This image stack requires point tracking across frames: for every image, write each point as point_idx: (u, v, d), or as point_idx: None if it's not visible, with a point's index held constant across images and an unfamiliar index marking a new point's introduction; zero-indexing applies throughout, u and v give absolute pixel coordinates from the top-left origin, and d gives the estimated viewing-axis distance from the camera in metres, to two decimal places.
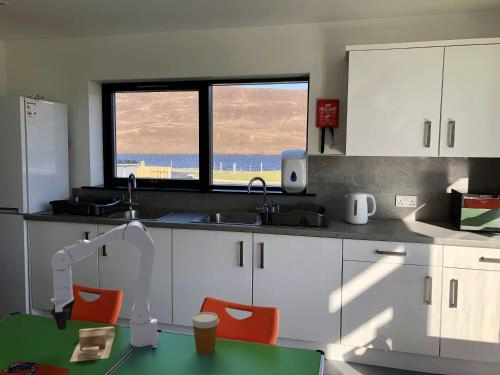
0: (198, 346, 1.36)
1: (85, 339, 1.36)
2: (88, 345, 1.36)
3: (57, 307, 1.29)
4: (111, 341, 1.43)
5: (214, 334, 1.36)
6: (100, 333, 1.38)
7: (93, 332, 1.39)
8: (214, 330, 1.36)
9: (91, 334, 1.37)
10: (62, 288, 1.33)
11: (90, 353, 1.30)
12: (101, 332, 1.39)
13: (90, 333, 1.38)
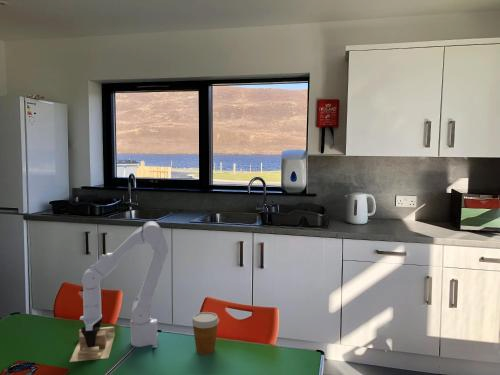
0: (198, 346, 1.36)
1: (85, 339, 1.36)
2: None
3: (88, 326, 1.30)
4: (111, 341, 1.43)
5: (214, 334, 1.36)
6: (100, 333, 1.38)
7: None
8: (214, 330, 1.36)
9: None
10: (92, 306, 1.34)
11: (90, 353, 1.30)
12: (101, 332, 1.39)
13: None
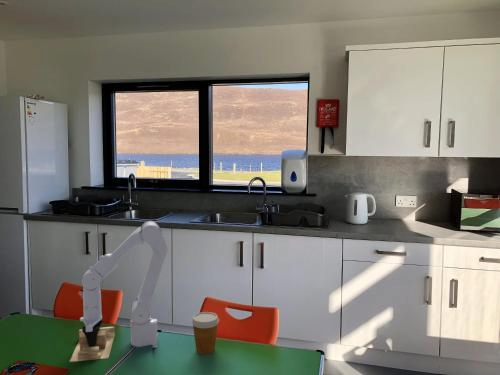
0: (198, 346, 1.36)
1: (85, 339, 1.36)
2: (88, 345, 1.36)
3: (88, 327, 1.30)
4: (111, 341, 1.43)
5: (214, 334, 1.36)
6: (100, 333, 1.38)
7: None
8: (214, 330, 1.36)
9: None
10: (92, 308, 1.34)
11: (90, 353, 1.30)
12: (101, 332, 1.39)
13: None
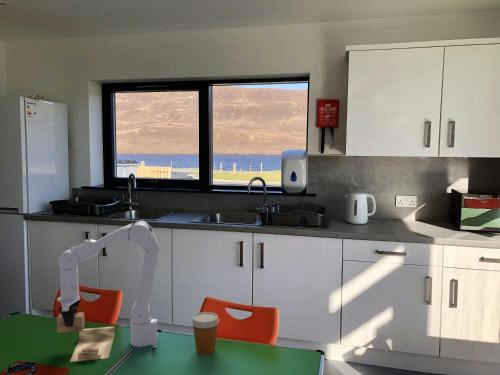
0: (198, 346, 1.36)
1: (62, 320, 1.35)
2: (65, 327, 1.35)
3: (64, 306, 1.30)
4: (111, 341, 1.43)
5: (214, 334, 1.36)
6: (77, 315, 1.38)
7: None
8: (214, 330, 1.36)
9: None
10: (69, 287, 1.34)
11: (90, 353, 1.30)
12: (79, 314, 1.38)
13: None
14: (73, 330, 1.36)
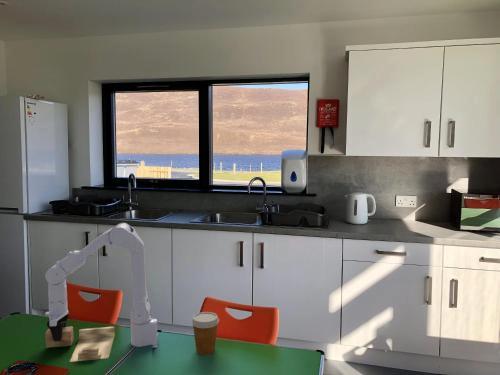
0: (198, 346, 1.36)
1: (50, 335, 1.36)
2: None
3: (51, 321, 1.30)
4: (111, 341, 1.43)
5: (214, 334, 1.36)
6: (66, 329, 1.38)
7: None
8: (214, 330, 1.36)
9: None
10: (57, 302, 1.34)
11: (90, 353, 1.30)
12: (67, 328, 1.39)
13: None
14: (62, 344, 1.37)
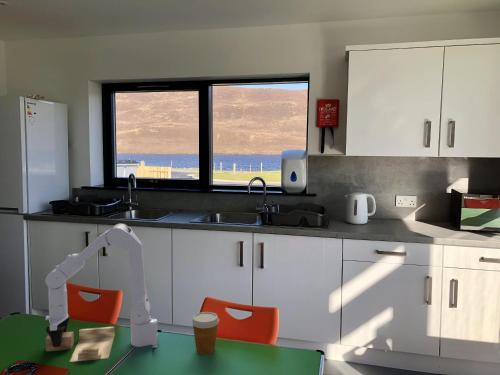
0: (198, 346, 1.36)
1: None
2: (54, 347, 1.36)
3: (52, 326, 1.30)
4: (111, 341, 1.43)
5: (214, 334, 1.36)
6: (66, 334, 1.38)
7: None
8: (214, 330, 1.36)
9: None
10: (57, 306, 1.34)
11: (90, 353, 1.30)
12: (68, 334, 1.39)
13: None
14: None
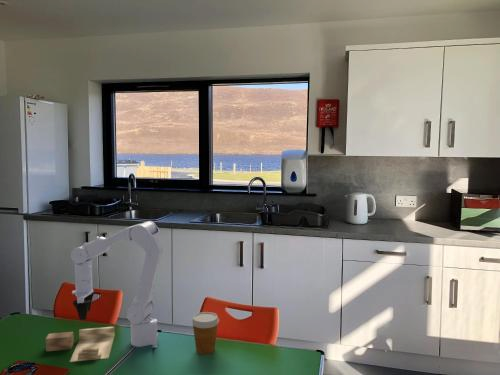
0: (198, 346, 1.36)
1: (51, 340, 1.36)
2: (54, 347, 1.36)
3: (79, 298, 1.38)
4: (111, 341, 1.43)
5: (214, 334, 1.36)
6: (66, 334, 1.38)
7: (60, 333, 1.39)
8: (214, 330, 1.36)
9: (57, 336, 1.37)
10: (83, 281, 1.42)
11: (90, 353, 1.30)
12: (68, 334, 1.39)
13: (56, 335, 1.38)
14: None
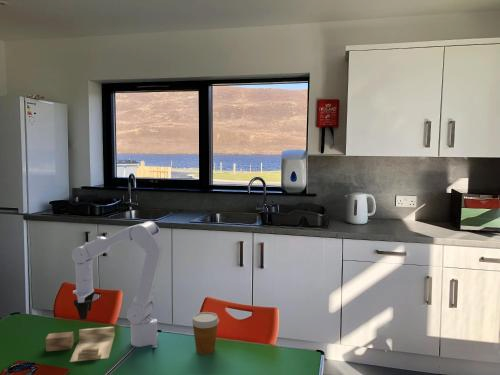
0: (198, 346, 1.36)
1: (51, 340, 1.36)
2: (54, 347, 1.36)
3: (80, 298, 1.38)
4: (111, 341, 1.43)
5: (214, 334, 1.36)
6: (66, 334, 1.38)
7: (60, 333, 1.39)
8: (214, 330, 1.36)
9: (57, 336, 1.37)
10: (84, 280, 1.42)
11: (90, 353, 1.30)
12: (68, 334, 1.39)
13: (56, 335, 1.38)
14: None
